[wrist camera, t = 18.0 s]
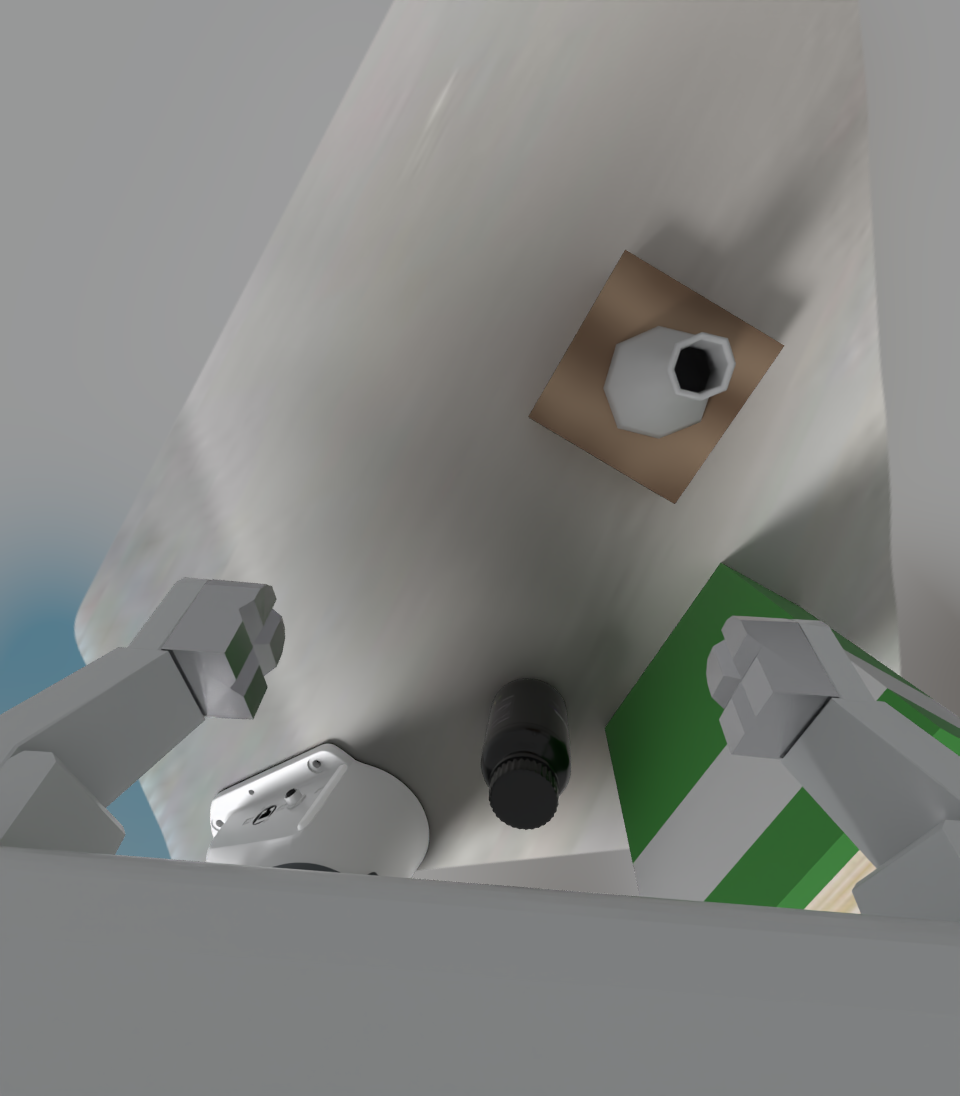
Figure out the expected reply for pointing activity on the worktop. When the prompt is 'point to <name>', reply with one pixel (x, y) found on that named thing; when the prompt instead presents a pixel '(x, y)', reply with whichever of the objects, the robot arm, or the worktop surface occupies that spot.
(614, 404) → the flask
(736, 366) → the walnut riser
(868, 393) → the worktop surface
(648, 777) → the hardback book
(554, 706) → the supplement bottle
